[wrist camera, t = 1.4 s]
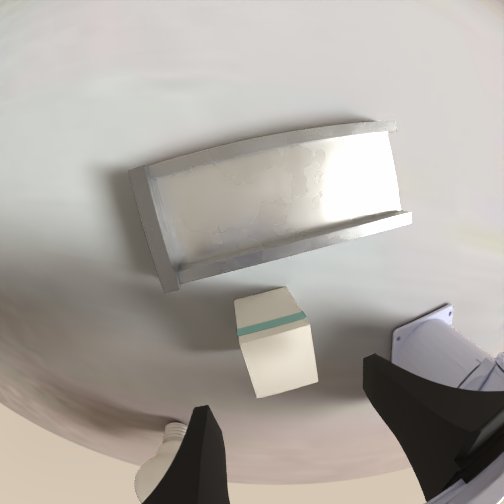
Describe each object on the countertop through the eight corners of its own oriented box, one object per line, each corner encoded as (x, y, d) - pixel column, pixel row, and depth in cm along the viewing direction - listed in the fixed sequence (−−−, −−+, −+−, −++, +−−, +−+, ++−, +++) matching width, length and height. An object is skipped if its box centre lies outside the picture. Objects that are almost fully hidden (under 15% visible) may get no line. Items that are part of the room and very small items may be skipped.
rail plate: (396, 221, 21) (419, 227, 17) (170, 279, 20) (162, 296, 17) (378, 122, 18) (402, 115, 15) (139, 170, 18) (124, 168, 14)
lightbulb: (146, 436, 24) (132, 520, 13) (148, 398, 22) (127, 496, 12) (204, 447, 25) (206, 532, 14) (215, 411, 23) (219, 511, 13)
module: (296, 336, 22) (319, 381, 16) (247, 349, 22) (256, 399, 16) (286, 285, 21) (310, 323, 15) (232, 299, 21) (238, 343, 15)
